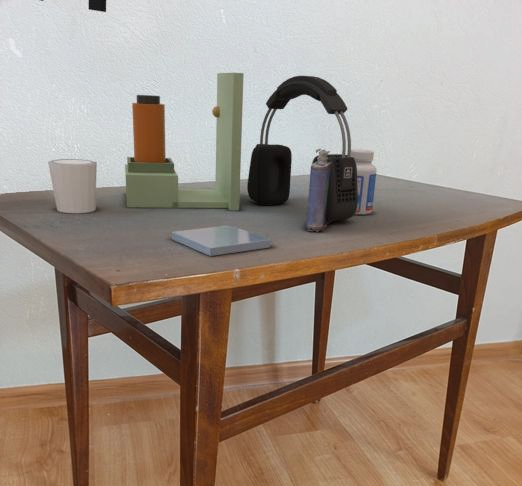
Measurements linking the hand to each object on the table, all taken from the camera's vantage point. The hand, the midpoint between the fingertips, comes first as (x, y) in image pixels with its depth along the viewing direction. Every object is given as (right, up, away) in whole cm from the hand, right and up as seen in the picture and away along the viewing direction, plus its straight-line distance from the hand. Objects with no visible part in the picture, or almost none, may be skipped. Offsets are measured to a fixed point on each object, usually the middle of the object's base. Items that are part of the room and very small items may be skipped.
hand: (67, 5), depth 85 cm
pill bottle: (+44, -27, +14) cm, 53 cm away
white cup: (0, -28, +5) cm, 29 cm away
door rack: (+14, -24, +15) cm, 32 cm away
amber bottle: (+10, -20, +12) cm, 25 cm away
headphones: (+34, -27, +11) cm, 45 cm away
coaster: (+23, -36, -10) cm, 44 cm away
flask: (+36, -31, +2) cm, 48 cm away
